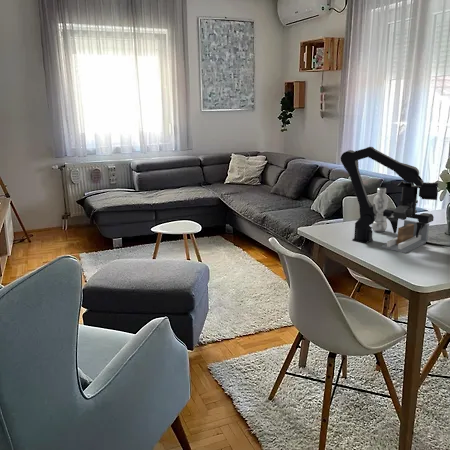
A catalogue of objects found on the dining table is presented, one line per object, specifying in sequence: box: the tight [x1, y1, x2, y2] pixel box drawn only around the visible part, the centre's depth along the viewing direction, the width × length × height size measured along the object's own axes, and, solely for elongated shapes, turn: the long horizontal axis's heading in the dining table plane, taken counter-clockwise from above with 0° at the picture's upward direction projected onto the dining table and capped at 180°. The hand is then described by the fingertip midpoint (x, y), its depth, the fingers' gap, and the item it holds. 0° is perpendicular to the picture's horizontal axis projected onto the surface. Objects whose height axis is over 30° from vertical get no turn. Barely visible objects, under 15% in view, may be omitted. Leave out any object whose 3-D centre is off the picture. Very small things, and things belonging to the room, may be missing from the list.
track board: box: [381, 219, 430, 254], centre depth 182 cm, size 10×20×8 cm, turn 133°
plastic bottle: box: [371, 187, 390, 233], centre depth 201 cm, size 6×7×20 cm
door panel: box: [396, 224, 414, 245], centre depth 181 cm, size 2×10×7 cm, turn 133°
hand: (405, 235), depth 182 cm, fingers open, 9 cm apart
